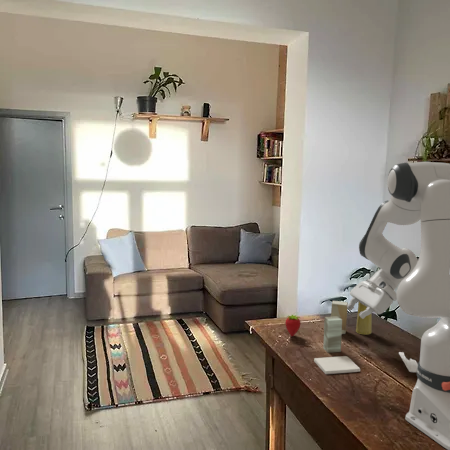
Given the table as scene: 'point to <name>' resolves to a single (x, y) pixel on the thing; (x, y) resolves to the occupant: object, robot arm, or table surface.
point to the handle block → (332, 334)
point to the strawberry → (292, 324)
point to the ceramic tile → (336, 365)
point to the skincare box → (340, 312)
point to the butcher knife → (409, 363)
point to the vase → (363, 321)
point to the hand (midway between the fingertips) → (354, 312)
